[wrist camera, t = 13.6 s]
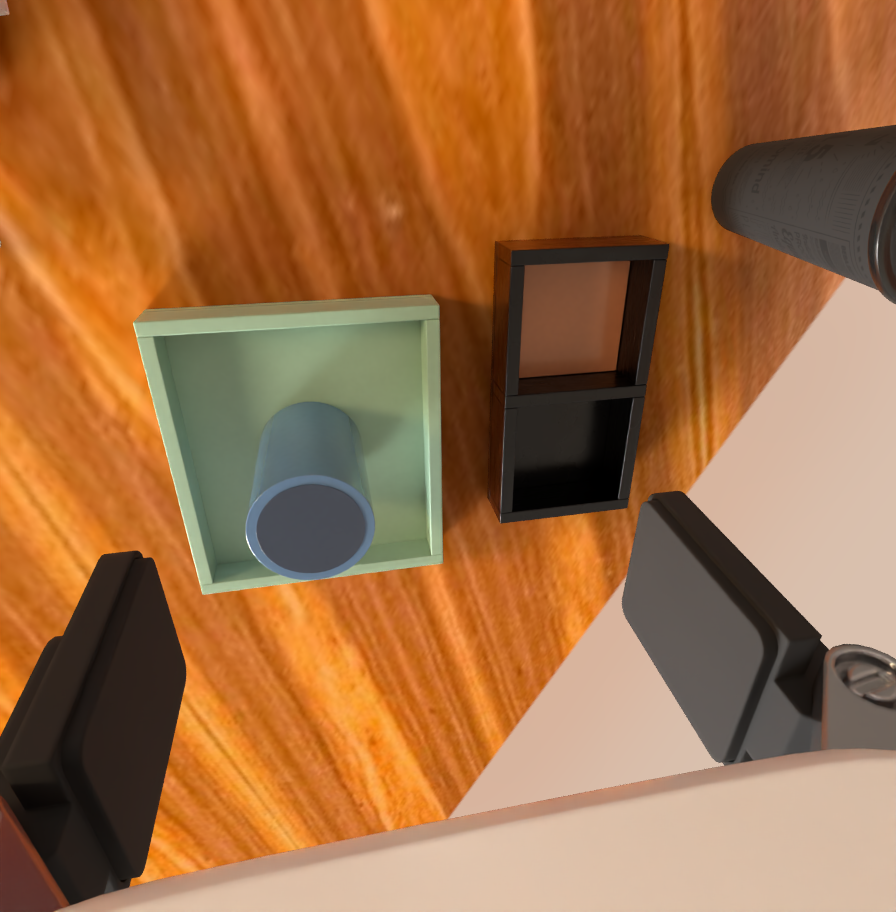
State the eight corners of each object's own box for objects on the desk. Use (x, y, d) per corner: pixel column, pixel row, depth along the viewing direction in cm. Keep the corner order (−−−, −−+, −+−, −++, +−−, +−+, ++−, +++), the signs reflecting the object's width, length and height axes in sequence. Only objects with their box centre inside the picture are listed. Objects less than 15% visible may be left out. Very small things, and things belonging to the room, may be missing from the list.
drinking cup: (830, 178, 36) (1300, 219, 19) (735, 280, 38) (1085, 401, 21) (764, 81, 33) (1261, 24, 16) (664, 198, 35) (1010, 261, 18)
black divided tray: (494, 240, 34) (511, 250, 31) (641, 235, 36) (669, 243, 33) (487, 497, 42) (499, 523, 39) (607, 484, 44) (627, 508, 41)
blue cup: (251, 405, 35) (234, 482, 27) (358, 397, 36) (371, 469, 28) (267, 495, 38) (256, 588, 30) (365, 485, 39) (379, 572, 31)
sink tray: (144, 309, 32) (132, 322, 30) (431, 293, 35) (439, 304, 33) (208, 569, 41) (202, 595, 38) (436, 541, 43) (443, 563, 41)
